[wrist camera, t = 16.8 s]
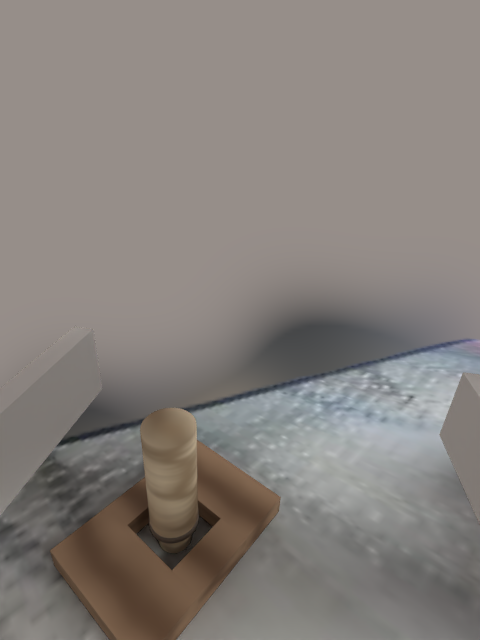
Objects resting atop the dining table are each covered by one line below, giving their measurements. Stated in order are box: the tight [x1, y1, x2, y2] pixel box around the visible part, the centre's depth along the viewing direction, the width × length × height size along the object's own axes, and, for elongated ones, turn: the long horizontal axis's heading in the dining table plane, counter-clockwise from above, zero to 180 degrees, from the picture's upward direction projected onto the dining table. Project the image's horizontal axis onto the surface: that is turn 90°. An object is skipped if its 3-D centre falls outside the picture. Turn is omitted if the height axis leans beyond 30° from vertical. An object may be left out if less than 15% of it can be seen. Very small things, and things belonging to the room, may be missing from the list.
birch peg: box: [140, 408, 199, 553], centre depth 37 cm, size 5×5×16 cm
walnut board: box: [50, 440, 281, 640], centre depth 40 cm, size 20×14×2 cm
